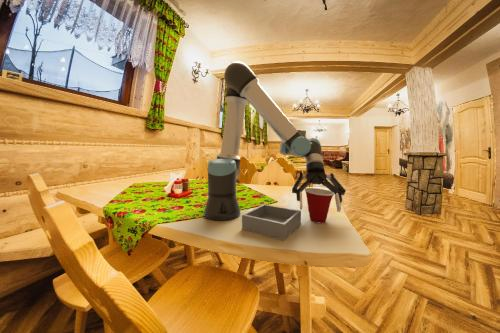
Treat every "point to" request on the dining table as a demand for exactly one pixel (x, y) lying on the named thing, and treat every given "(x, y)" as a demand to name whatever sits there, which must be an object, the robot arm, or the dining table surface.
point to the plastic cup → (318, 203)
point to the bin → (272, 221)
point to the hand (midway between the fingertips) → (319, 209)
